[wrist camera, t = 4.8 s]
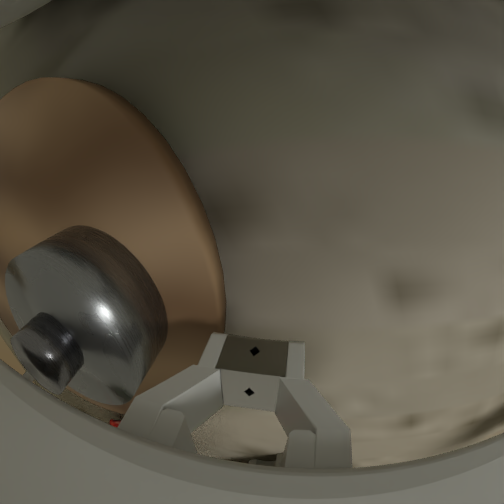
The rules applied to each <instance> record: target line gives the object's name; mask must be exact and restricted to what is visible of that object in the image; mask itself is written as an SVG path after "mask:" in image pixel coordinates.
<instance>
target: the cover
mask: <svg viewBox="0 0 504 504" xmlns="http://www.w3.org/2000/svg"><path fill="white" fill-rule="evenodd" d="M5 289H6V295H7V300H8V303H9V307H10V310H11V312H12V315H13V317H14V320H15V322H16V324H17V326H18V328H19V331H18V332H17V333H16V334H15V335H14V336H13V337H12V338H11V344H12V347H13V350H14V352H15V354H16V356H17V357H18V359H19V361H20V362H21V363H22V365H23V366H24V368H25V369H26V370H27V371H28V372H29V374H30V375H31V376H32V377H33V378H34V379H35V380H36V381H37V382H38V383H39V384H41V385H42V386H43V387H44V388H46V389H47V390H49V391H50V392H52V393H54V394H58V395H59V394H61V393H62V391H63V390H64V389H65V388H66V386H67V385H68V386H69V387H71V388H72V389H74V390H75V391H77V392H79V393H80V394H82V395H84V396H86V397H88V398H90V399H92V400H95V401H97V402H100V403H103V404H108V405H123V404H126V403H128V402H129V401H130V400H131V399H132V398H133V396H134V395H135V393H136V391H137V390H138V388H139V386H140V385H141V383H142V381H143V380H144V378H145V376H146V374H147V373H148V371H149V369H150V368H151V366H152V365H153V363H154V361H155V360H156V358H157V356H158V355H159V353H160V351H161V350H162V348H163V346H164V344H165V342H166V339H167V334H168V319H167V313H166V309H165V305H164V303H163V300H162V297H161V295H160V293H159V291H158V289H157V287H156V285H155V283H154V281H153V280H152V278H151V276H150V275H149V273H148V272H147V270H146V269H145V268H144V266H143V265H142V264H141V263H140V261H139V260H138V259H137V258H136V257H135V256H134V254H132V253H131V252H130V251H129V250H128V249H127V248H126V247H125V246H124V245H123V244H122V243H120V242H119V241H118V240H116V239H115V238H114V237H112V236H110V235H109V234H107V233H105V232H103V231H101V230H99V229H96V228H93V227H90V226H83V225H77V226H71V227H68V228H66V229H64V230H62V231H60V232H58V233H56V234H54V235H53V236H51V237H49V238H47V239H45V240H44V241H42V242H40V243H38V244H37V245H35V246H33V247H31V248H30V249H28V250H26V251H25V252H23V253H21V254H20V255H18V256H16V257H15V258H13V259H12V260H11V261H10V262H9V264H8V266H7V269H6V273H5Z"/></svg>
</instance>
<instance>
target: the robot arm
mask: <svg viewBox="0 0 504 504" xmlns="http://www.w3.org/2000/svg"><path fill="white" fill-rule="evenodd" d="M304 366H305V343H304V342H299V341H289V342H288V341H281V340H270V339H260V338H252V337H245V336H238V335H232V334H223V333H217V332H213V333H212V334H211V336H210V338H209V340H208V343H207V345H206V347H205V349H204V351H203V354H202V356H201V358H200V360H199V363H198V365H191V366H190V367H188V368H186V369H185V370H183V371H181V372H179V373H178V374H176V375H174V376H172V377H171V378H169V379H167V380H165V381H164V382H162V383H160V384H158V385H156V386H155V387H153V388H151V389H149V390H147V391H145V392H144V393H142V394H140V395H138V396H136V397H135V398H134V400H133V402H132V403H131V405H130V407H129V408H128V410H127V412H126V414H125V415H124V417H123V419H122V420H121V422H120V424H119V426H118V427H114V426H112V425H110V424H107V423H105V422H103V421H101V420H99V419H96V418H94V417H92V416H90V415H88V414H86V413H84V412H82V411H80V410H78V409H76V408H74V407H73V406H71V405H69V404H67V403H65V402H63V401H62V400H60V399H58V398H57V397H55V396H53V395H51V394H50V393H48V392H47V391H45V390H43V389H42V388H40V387H39V386H37V385H36V384H34V383H32V382H31V381H30V380H28V379H27V378H25V377H24V376H22V375H21V374H19V373H18V372H17V371H15V370H14V369H13V368H11V367H10V366H9V365H7V364H6V363H5V362H4V361H2V360H1V359H0V504H504V433H502V434H499V435H497V436H494V437H492V438H489V439H487V440H484V441H481V442H479V443H476V444H473V445H470V446H467V447H464V448H461V449H457V450H454V451H451V452H447V453H443V454H439V455H435V456H431V457H427V458H422V459H417V460H412V461H407V462H401V463H394V464H387V465H379V466H370V467H358V468H352V449H351V431H350V429H349V428H348V426H347V425H346V424H345V423H344V422H343V420H342V419H341V418H340V417H339V416H338V414H337V413H336V412H335V411H334V410H333V408H332V407H331V406H330V405H329V404H328V402H327V401H326V400H325V399H324V397H323V396H322V395H321V394H320V393H319V391H318V390H317V389H316V388H315V386H314V385H313V384H312V383H311V381H310V380H309V379H304ZM223 405H229V406H236V407H244V408H252V409H258V410H266V411H273V412H275V414H276V416H277V418H278V420H279V422H280V423H281V425H282V427H283V429H284V431H285V433H286V435H287V436H288V440H287V443H286V446H285V450H284V453H283V457H282V460H281V463H280V467H273V466H264V465H255V464H248V463H241V462H235V461H229V460H224V459H219V458H214V457H209V456H204V455H200V454H196V453H197V450H196V448H195V445H194V442H193V439H192V436H191V433H192V432H193V431H194V430H196V429H197V428H198V427H199V426H200V425H202V424H203V423H204V422H205V421H206V420H208V419H209V418H210V417H211V416H212V415H213V414H215V413H216V412H217V411H218V410H219V409H220V408H222V407H223Z"/></svg>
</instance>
